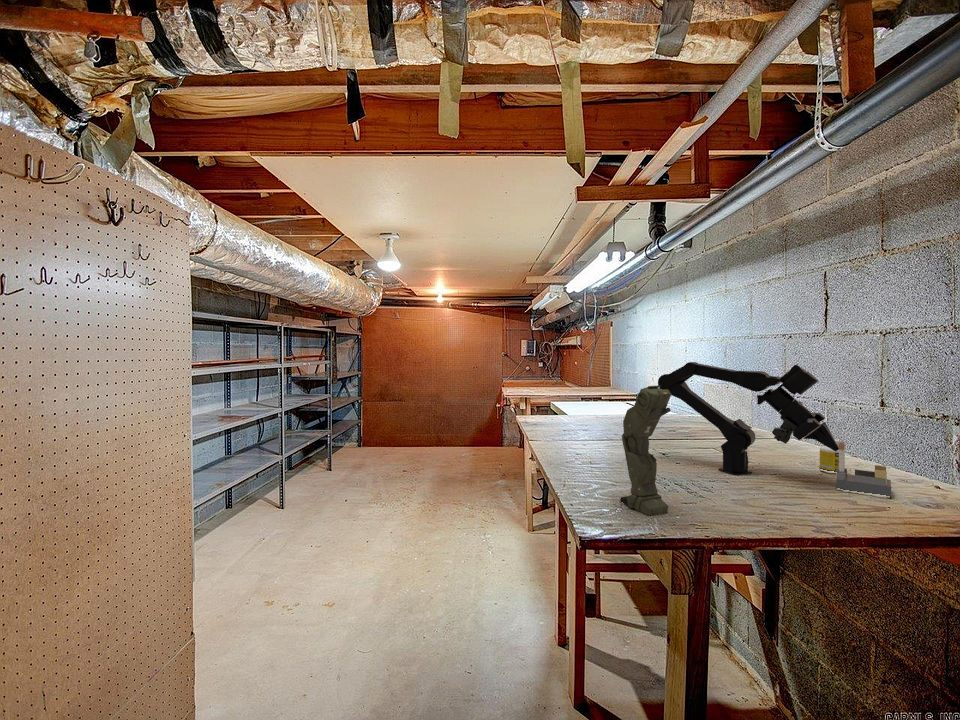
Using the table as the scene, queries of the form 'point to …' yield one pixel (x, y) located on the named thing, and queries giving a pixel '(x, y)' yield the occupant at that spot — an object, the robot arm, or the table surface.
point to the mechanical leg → (644, 449)
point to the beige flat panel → (842, 457)
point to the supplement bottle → (829, 458)
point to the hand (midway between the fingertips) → (837, 450)
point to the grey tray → (865, 481)
